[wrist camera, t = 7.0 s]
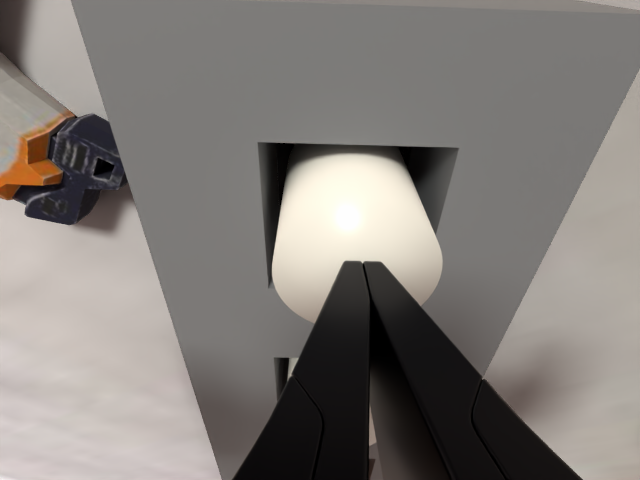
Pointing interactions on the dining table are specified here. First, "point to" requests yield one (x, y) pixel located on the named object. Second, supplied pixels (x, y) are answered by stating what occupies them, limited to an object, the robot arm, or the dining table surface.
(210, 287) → the socket board
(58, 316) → the dining table surface
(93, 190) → the toy gun
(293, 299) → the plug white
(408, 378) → the robot arm
